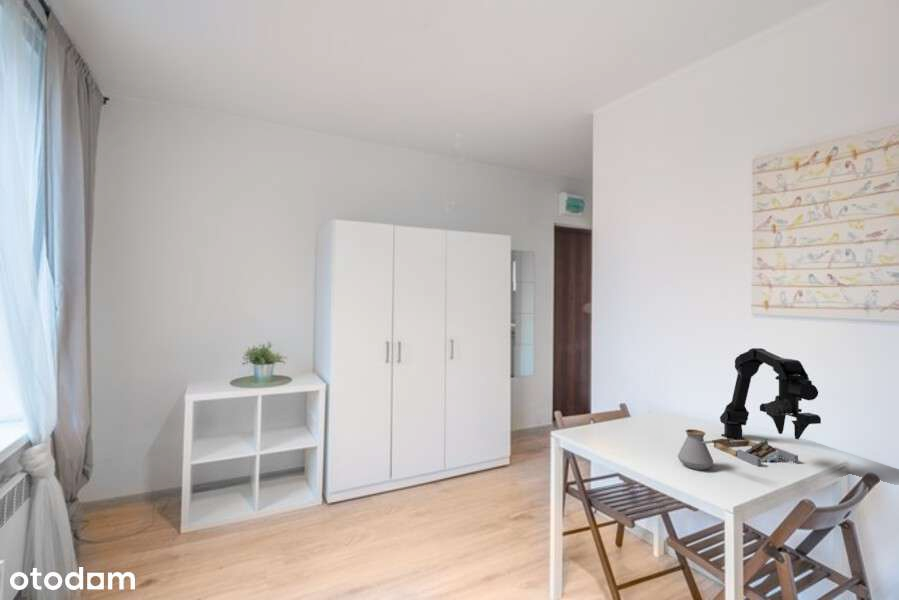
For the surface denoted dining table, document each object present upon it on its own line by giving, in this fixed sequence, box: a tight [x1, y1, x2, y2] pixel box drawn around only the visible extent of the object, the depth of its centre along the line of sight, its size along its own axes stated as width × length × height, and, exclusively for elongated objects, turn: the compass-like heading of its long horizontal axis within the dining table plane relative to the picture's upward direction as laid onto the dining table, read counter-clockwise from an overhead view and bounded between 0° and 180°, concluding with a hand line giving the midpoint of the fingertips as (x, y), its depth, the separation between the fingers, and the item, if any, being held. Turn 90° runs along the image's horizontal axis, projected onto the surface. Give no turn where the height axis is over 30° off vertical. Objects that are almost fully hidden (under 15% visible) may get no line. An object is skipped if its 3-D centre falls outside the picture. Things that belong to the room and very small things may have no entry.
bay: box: [736, 446, 799, 467], centre depth 163 cm, size 9×18×3 cm, turn 100°
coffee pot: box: [677, 428, 738, 471], centre depth 152 cm, size 21×12×15 cm, turn 19°
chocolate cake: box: [744, 438, 780, 463], centre depth 164 cm, size 10×7×12 cm
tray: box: [713, 439, 759, 458], centre depth 173 cm, size 11×17×2 cm, turn 100°
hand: (788, 436), depth 154 cm, fingers open, 6 cm apart
